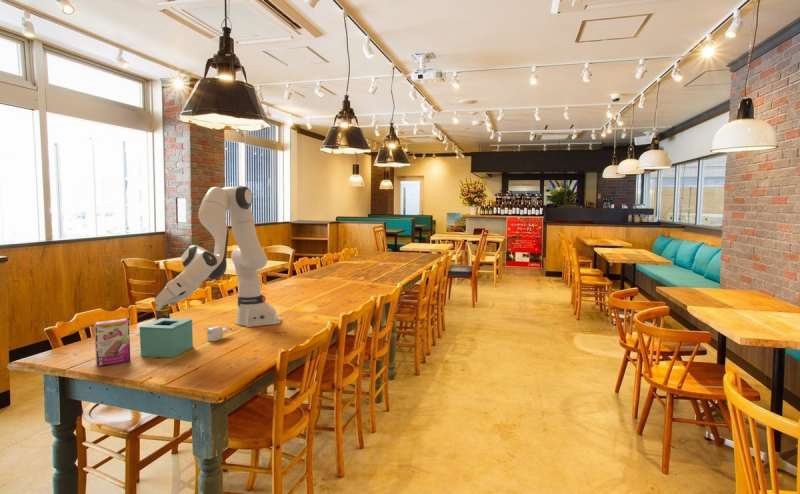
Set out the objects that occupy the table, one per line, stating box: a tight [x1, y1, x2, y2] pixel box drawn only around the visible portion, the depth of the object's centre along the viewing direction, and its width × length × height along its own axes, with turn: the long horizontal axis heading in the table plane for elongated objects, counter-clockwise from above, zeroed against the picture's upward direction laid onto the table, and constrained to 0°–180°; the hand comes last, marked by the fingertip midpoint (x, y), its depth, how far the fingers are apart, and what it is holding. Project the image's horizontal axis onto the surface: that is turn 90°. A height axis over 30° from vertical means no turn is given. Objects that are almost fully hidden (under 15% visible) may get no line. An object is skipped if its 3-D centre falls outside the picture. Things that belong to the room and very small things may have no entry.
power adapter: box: [206, 325, 233, 342], centre depth 211 cm, size 11×5×6 cm, turn 150°
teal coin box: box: [139, 318, 194, 358], centre depth 192 cm, size 14×14×12 cm
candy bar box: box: [93, 318, 131, 368], centre depth 178 cm, size 11×5×16 cm, turn 128°
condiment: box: [155, 304, 171, 321], centre depth 227 cm, size 7×8×12 cm
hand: (164, 306), depth 191 cm, fingers open, 8 cm apart
